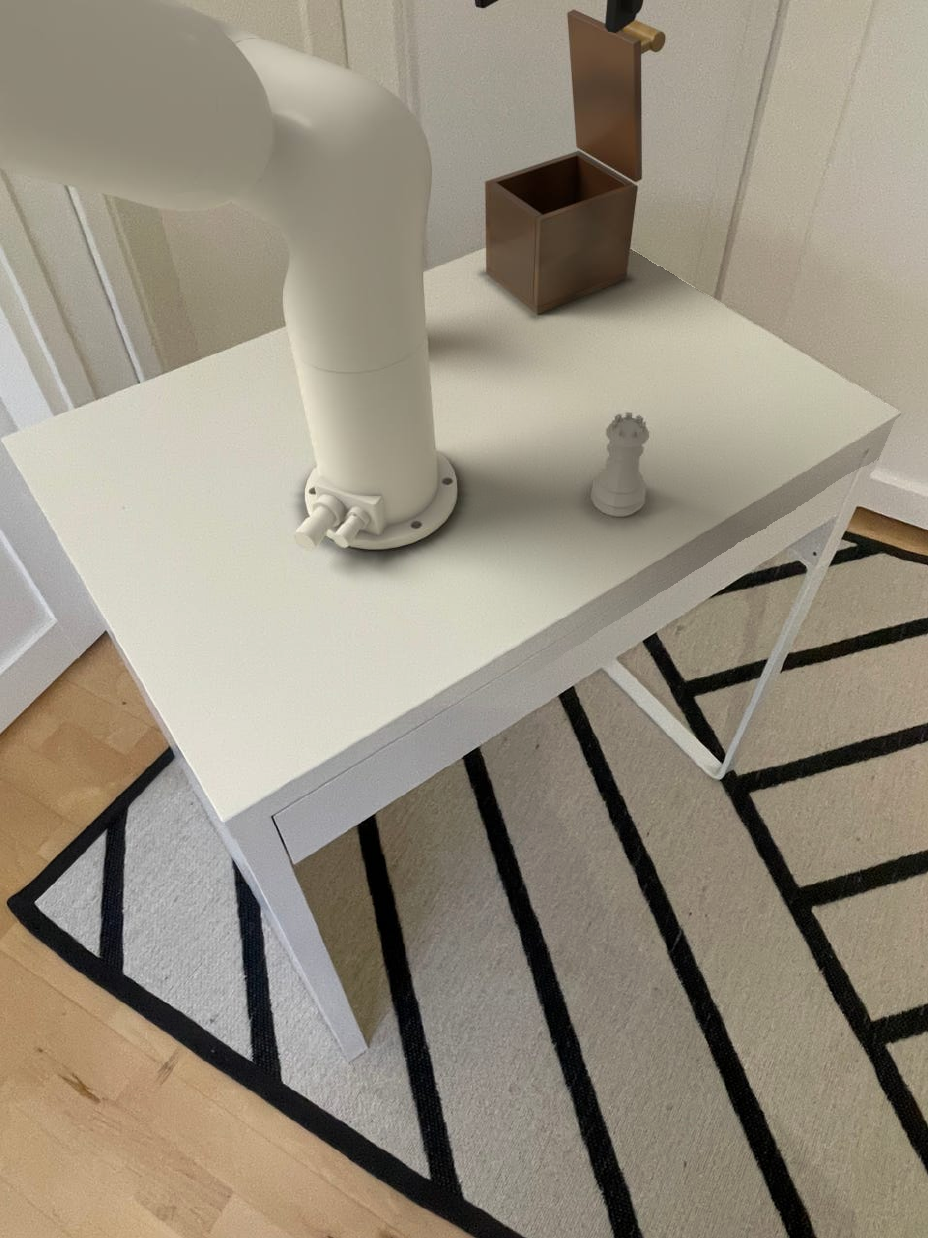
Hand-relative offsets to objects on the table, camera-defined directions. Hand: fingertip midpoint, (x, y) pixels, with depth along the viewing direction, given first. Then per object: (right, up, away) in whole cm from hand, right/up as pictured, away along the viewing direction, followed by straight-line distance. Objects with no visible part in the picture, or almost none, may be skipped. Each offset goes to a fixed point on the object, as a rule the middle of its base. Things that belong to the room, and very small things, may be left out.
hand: (554, 13), depth 56 cm
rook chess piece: (+7, -30, +14) cm, 34 cm away
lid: (+7, +9, +24) cm, 27 cm away
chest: (+4, -3, +36) cm, 36 cm away
